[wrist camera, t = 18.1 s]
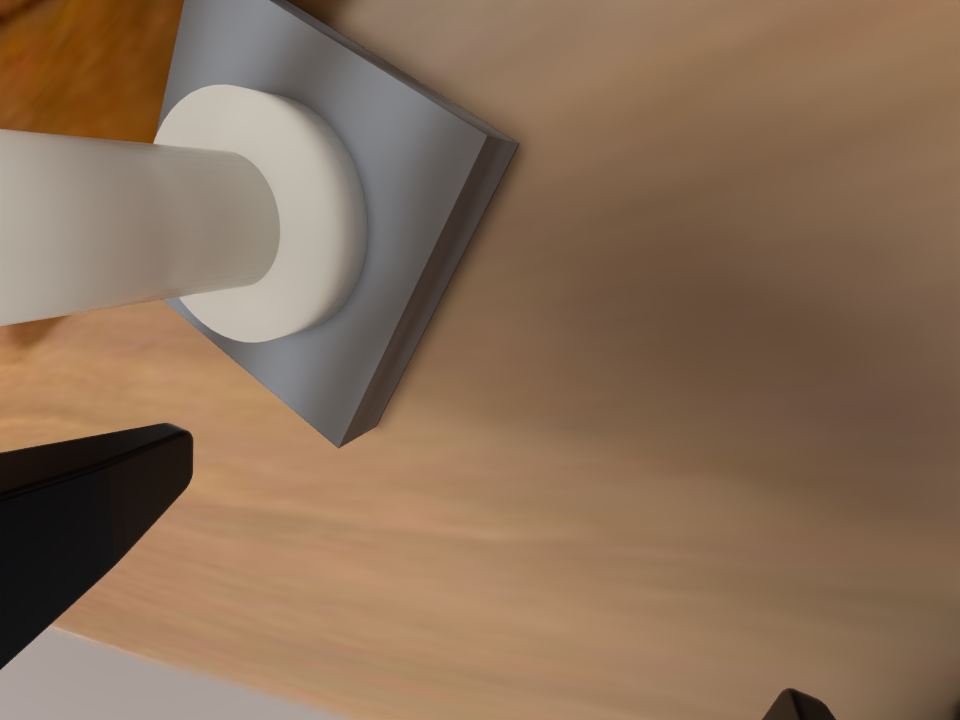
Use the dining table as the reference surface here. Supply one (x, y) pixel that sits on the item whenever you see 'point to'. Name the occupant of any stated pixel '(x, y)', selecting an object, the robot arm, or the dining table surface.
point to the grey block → (387, 191)
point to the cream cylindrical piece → (187, 218)
